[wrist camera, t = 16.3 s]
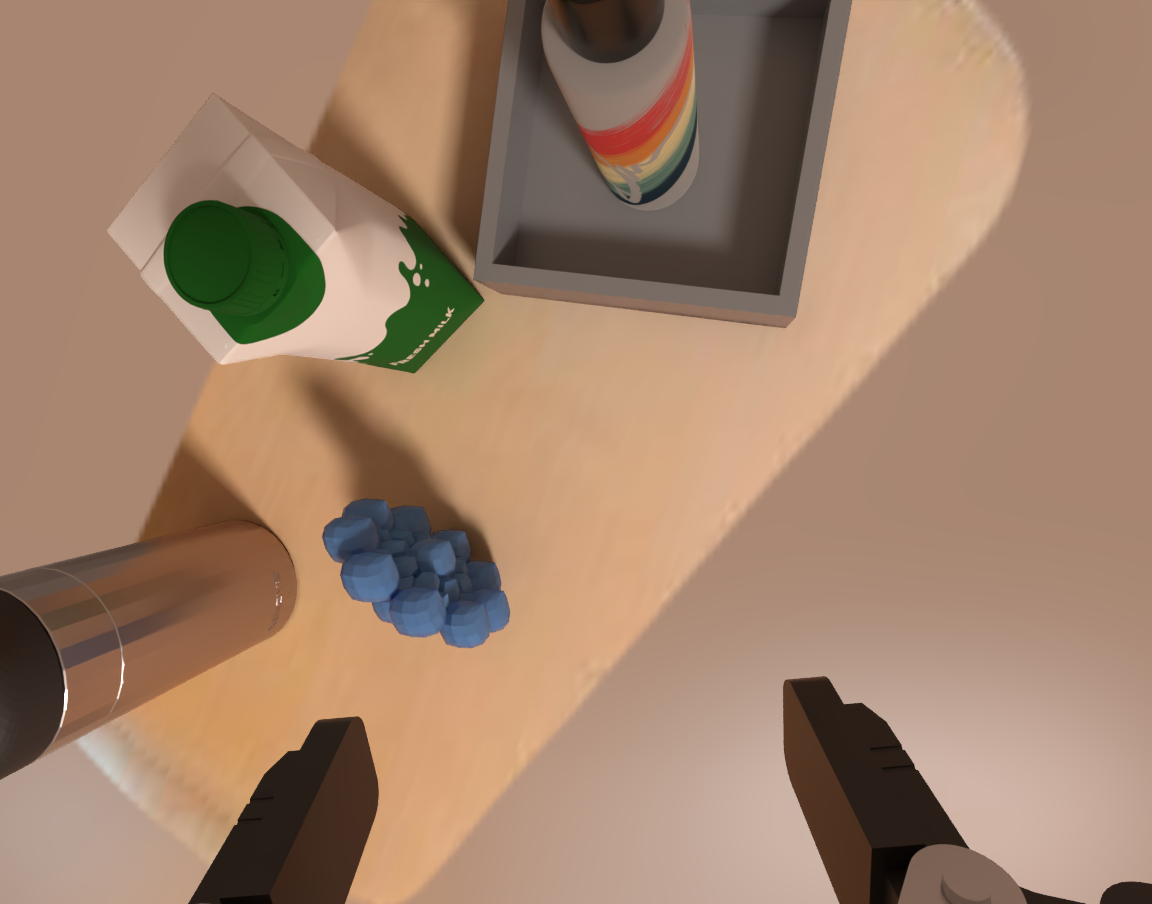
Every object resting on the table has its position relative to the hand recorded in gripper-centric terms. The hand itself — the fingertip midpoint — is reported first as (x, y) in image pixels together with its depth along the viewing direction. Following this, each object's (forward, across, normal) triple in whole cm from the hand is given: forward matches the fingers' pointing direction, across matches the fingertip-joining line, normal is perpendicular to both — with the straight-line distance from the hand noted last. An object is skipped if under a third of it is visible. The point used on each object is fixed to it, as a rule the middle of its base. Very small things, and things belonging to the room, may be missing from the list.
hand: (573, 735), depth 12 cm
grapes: (+30, +10, +11) cm, 33 cm away
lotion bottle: (+32, -6, -13) cm, 35 cm away
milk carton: (+35, +10, -6) cm, 37 cm away
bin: (+33, -7, -13) cm, 36 cm away
